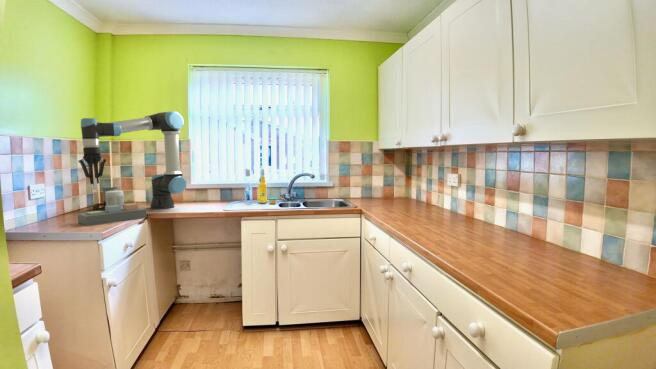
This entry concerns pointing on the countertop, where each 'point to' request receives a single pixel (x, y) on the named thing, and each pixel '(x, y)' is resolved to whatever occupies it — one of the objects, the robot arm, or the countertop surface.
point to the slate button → (112, 208)
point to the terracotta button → (130, 206)
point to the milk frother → (104, 197)
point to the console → (111, 217)
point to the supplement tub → (114, 198)
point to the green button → (94, 212)
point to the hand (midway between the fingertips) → (95, 189)
